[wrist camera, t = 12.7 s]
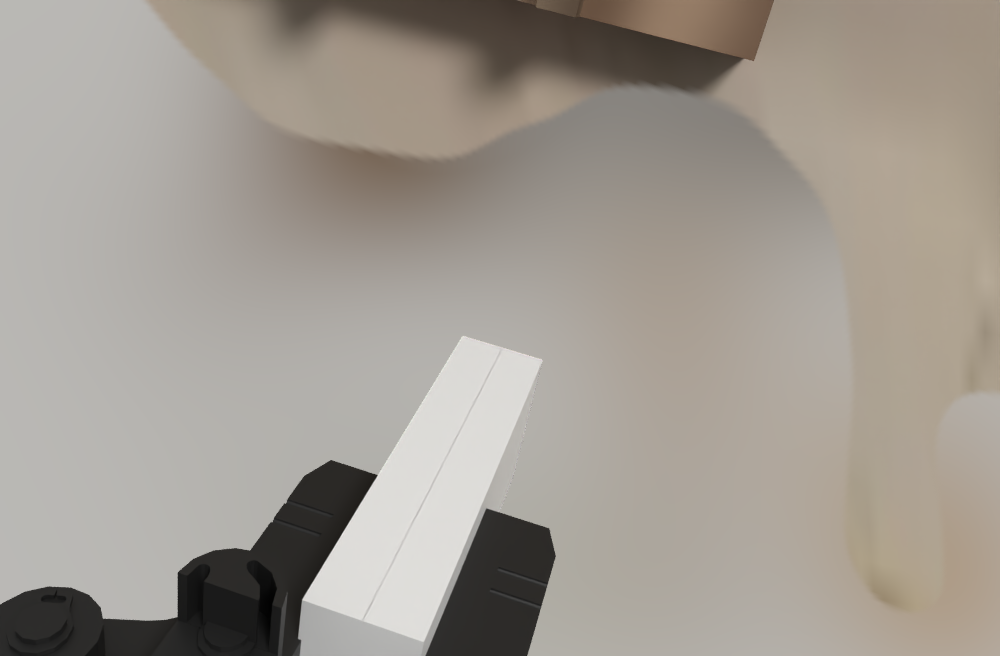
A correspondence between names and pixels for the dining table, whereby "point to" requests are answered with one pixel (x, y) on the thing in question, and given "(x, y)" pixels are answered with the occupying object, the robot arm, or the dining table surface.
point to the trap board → (679, 20)
